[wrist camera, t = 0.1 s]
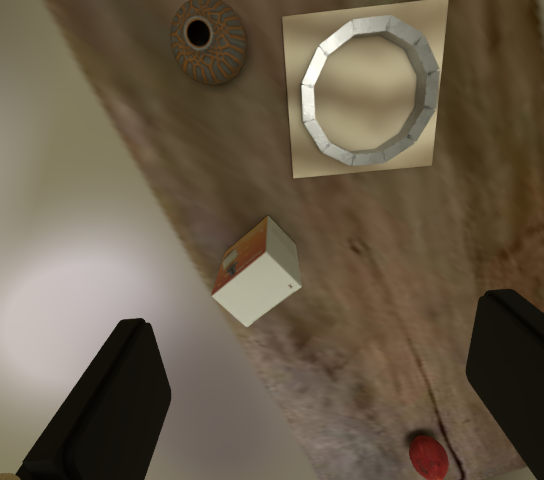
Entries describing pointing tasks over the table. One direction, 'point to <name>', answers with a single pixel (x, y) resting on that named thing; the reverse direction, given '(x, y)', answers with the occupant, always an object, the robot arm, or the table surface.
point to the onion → (429, 458)
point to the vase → (208, 41)
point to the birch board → (359, 86)
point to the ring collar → (424, 93)
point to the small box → (257, 272)
